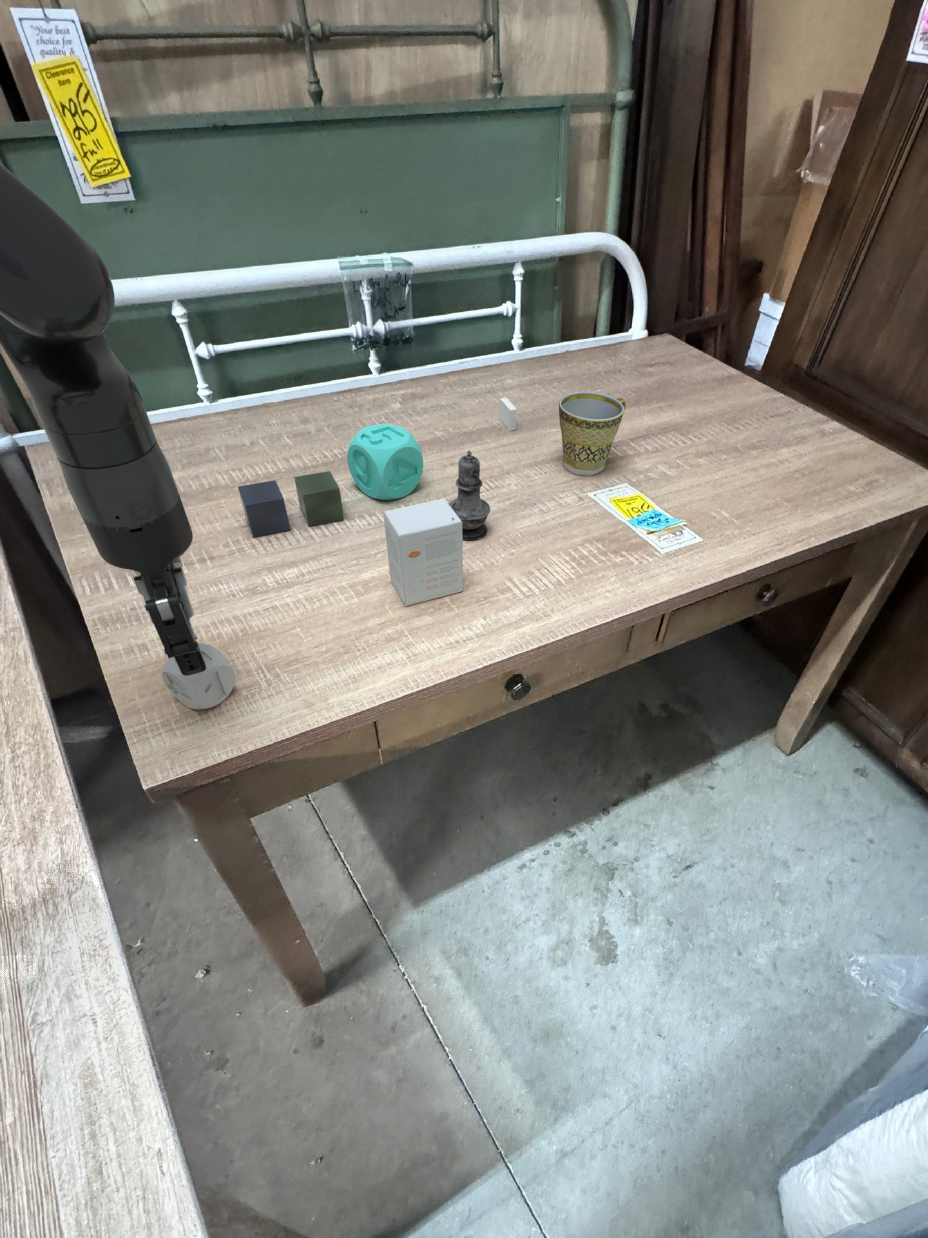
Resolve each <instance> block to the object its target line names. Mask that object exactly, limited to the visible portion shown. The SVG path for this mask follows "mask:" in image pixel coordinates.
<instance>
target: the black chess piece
mask: <svg viewBox="0 0 928 1238" xmlns="http://www.w3.org/2000/svg"><path fill="white" fill-rule="evenodd" d="M457 465H458V467H457V468H458V470H457V471H458V478H457V479H456V480H455V486H456V487H457V497H456V498H454V499H453V500H451V501H450V502H449V503H448V504H449V505H450V507H451V508H452V509H453V511H454V512H455V513H456V515H457V516H458V517H459V519H460V520H461V521H462V537H463V541H465V542H474V541H478V540H481V539H483V538H485V537H486V536H487V534H488V527H487V525H486V524H485V523H486V521H487V518H488V516H489V514H490V512H491V506H490V505H489V503H488V501H486V500H484V499H483V498H481V488H482V487H483V481H482V480H481V479H480V478H481V477H480V475H481V463H480V459H478V457H476V456H474V455H473V452H471V450H470V449H469V450H467V452H466V455H462V457H460V458H459V460H458V464H457Z"/></svg>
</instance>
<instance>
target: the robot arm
mask: <svg viewBox="0 0 928 1238" xmlns="http://www.w3.org/2000/svg"><path fill="white" fill-rule="evenodd" d="M114 289H115V288H114V284H113V282H112V278H111V276H110V273H109V271H108V269H107V266H106V264H105V262H104V261H103V260H102V258H101V255H99V253H98V252H97V251H96V249H95V248H94V247H93V246H92V244H91V243H90V242H89V241H88V240H87V239H86V238H85V237H84V236H83V235H82V233H80V232H79V230H77V229H76V228H75V227H74V225H72V224H71V223H70V222H69V221H67V220H66V218H64V217H63V216H62V215H61V214H60V213H58V211H56V210H55V209H54V208H53V207H52V206H51V205H49V203H47V202H46V201H45V200H44V199H43V198H42V197H41V196H39V195H38V194H37V193H36V192H35V191H34V190H33V189H31V188H30V187H29V186H28V185H27V184H26V183H25V182H23V181H22V180H21V179H20V178H18V177H17V176H16V175H15V174H14V173H13V172H12V171H10V170H9V169H8V168H7V167H5V165H3V164H2V163H1V162H0V346H1V347H2V349H3V351H4V352H5V354H6V356H7V358H8V359H9V361H10V363H11V364H12V366H13V367H14V369H15V370H16V372H17V373H18V375H19V377H20V378H21V381H22V382H23V384H24V386H25V389H26V391H27V393H28V395H29V397H30V400H31V402H32V404H33V407H34V410H35V412H36V415H37V417H38V420H39V422H40V424H41V426H42V427H43V430H44V433H45V435H46V437H47V439H48V441H49V443H50V445H51V447H52V449H53V451H54V454H55V456H56V458H57V460H58V462H59V463H58V464H59V466H60V468H61V469H60V470H61V472H62V475H63V478H64V481H65V484H66V488H67V489H68V492H69V494H70V495H71V498H72V500H73V501H74V504H75V506H76V508H77V510H78V512H79V515H80V517H81V518H82V520H83V522H84V525H85V527H86V529H87V530H88V533H89V535H90V537H91V539H92V541H93V543H94V546H95V548H96V549H97V552H98V554H99V556H100V557H101V558H102V559H103V560H104V561H105V562H106V563H107V564H109V565H111V566H113V567H116V568H118V569H122V570H130V571H134V573H135V574H136V575H134V576H133V581H134V584H135V587H136V590H137V592H138V594H139V595H140V596H142V598H143V601H144V603H145V605H144V609H145V611H146V612H148V614H149V618H150V621H151V623H152V624H153V626H154V629H155V630H156V632H157V635H158V637H159V639H160V642H161V644H162V646H163V648H164V649H163V651H164V654H165V655H167V658H168V657H169V658H172V657H174V658H175V660H176V662H177V664H178V667H179V669H180V671H181V673H182V674H183V675H185V676H188V675H192V674H196V673H200V672H203V671H205V670H206V665H205V661H204V659H203V656H202V654H201V651H200V649H199V646H198V643H199V642H198V640H199V639H198V635H197V633H195V630H194V627H193V625H192V622H191V619H192V618H193V617H194V609H193V606H192V603H191V600H190V597H189V594H188V590H187V588H186V586H187V585H188V581H187V578H186V573H185V571H184V568H183V567H184V565H183V562H182V557H181V556H183V555H184V553H186V552H187V551H188V550H189V548H190V547H191V545H192V542H193V537H194V533H193V530H192V526H191V524H190V521H189V518H188V516H187V512H186V510H185V507H184V505H183V501H182V499H181V495H180V493H179V490H178V486H177V484H176V481H175V478H174V475H173V473H172V470H171V467H170V465H169V461H168V460H167V458H166V456H165V454H164V452H163V451H162V448H161V447H160V445H159V442H158V440H157V437H156V435H155V432H154V430H153V429H154V428H153V426H152V423H151V421H150V418H149V415H148V412H147V410H146V406H145V404H144V401H143V399H142V396H141V393H140V391H139V389H138V386H137V385H136V382H135V381H134V379H133V377H132V375H131V374H130V373H129V371H128V370H127V369H126V368H125V366H124V365H123V364H122V362H121V361H119V359H118V358H117V356H116V355H115V354H114V352H113V351H112V349H111V347H110V345H109V343H108V341H107V338H106V335H105V333H104V332H105V330H106V329H107V327H108V326H109V325H110V323H111V321H112V318H113V316H114V312H115V305H116V304H115V303H116V302H115V301H116V300H115V299H116V298H115V290H114Z"/></svg>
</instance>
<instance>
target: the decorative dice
mask: <svg viewBox="0 0 928 1238" xmlns="http://www.w3.org/2000/svg"><path fill="white" fill-rule="evenodd" d="M346 460H347V466H348V470H349V472H350V475H351V477H352V479H353V482H355V485H356V486H357V487H358V489H359V490H360V491H361V492H362V493H363V494H364V495H366V496H368V497H369V498H372V499H375V500H379V501H394V500H399V499H403V498H405V497H406V496H409V494H411V493H412V492H413V491H414V490H415V489H416V487H417V486H418V485H419V483H420V481H421V478H422V475H423V472H424V458H423V453H422V450H421V447H420V445H419V443H418V442H417V440H416V438H415V437H414V436H413V435H412V434H411V432H409V431H408V430H407V429H405V428H404V427H403V426H399V425H395V424H390V423H378V424H372V425H368V426H365V427H363V428H361V429H360V430H359V431H358V432H357V433H356V434H355V435H354V436H353V438H352V439H351V442H350V443H349V445H348V449H347V454H346Z"/></svg>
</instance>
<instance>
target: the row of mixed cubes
mask: <svg viewBox="0 0 928 1238" xmlns="http://www.w3.org/2000/svg"><path fill="white" fill-rule="evenodd" d="M293 478H294V483H295V484H294V485H295V488H296V493H297V494H296V495H297V498H298V504H299V510H300V511H301V513H302V515H303V518H304V520H305V522H306V524H307V526H308V528H309V527H310V528H311V527H314V526H320V525H325V524H329V523H335V522H340V521H341V522H342V521H344V520H345V517H344V509H343V503H342V495H341V489H340V487H339V484H338V483H337V481H336V480H335V478H334V475H333V474H332V472H331V471H330V470H328V471H322V472H316V473H309V474H304V475H299V476H294V477H293ZM237 489H238V493H239V497H240V500H241V504H242V509H243V511H244V515H245V520H246V522H247V525H248V528H249V530H250V533H251V535H252V538H260V537H263V536H269V535H275V534H279V533H280V534H281V533H285V532H289V531H291V526H290V521H289V516H288V513H287V508H286V503H285V498H284V495H283V494H282V491H281V489H280V487H279V484H278V483H277V480H275V479H274V480H268V481H262V482H256V483H250V484H245V485H239V486H237Z"/></svg>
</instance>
